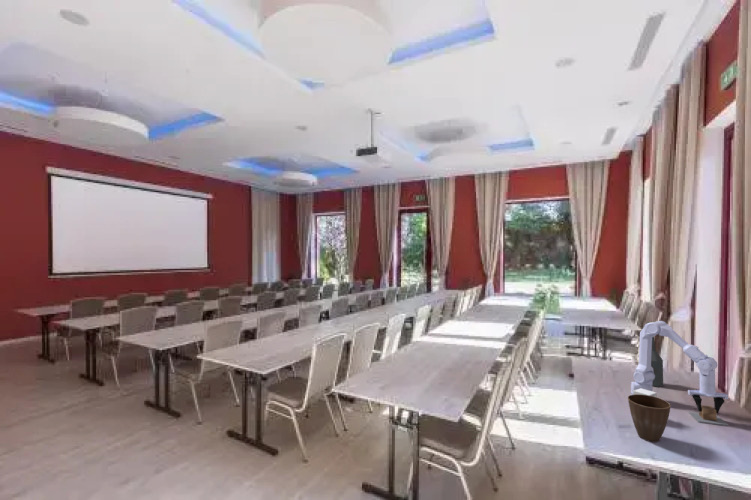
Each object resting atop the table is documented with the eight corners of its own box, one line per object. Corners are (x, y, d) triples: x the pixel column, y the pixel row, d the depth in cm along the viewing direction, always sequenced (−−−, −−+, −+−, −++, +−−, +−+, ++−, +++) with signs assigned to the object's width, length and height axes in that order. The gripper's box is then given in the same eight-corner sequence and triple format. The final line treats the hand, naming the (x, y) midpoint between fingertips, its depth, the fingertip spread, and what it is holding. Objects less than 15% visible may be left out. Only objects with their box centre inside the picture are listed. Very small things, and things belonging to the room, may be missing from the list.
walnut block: (703, 419, 176) (702, 408, 176) (699, 415, 181) (698, 404, 181) (716, 420, 174) (716, 410, 175) (712, 416, 179) (711, 405, 179)
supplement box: (649, 422, 176) (648, 395, 176) (632, 416, 182) (632, 390, 182) (657, 418, 179) (657, 392, 179) (640, 412, 186) (640, 387, 186)
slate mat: (698, 422, 175) (698, 421, 175) (689, 412, 185) (689, 411, 185) (728, 426, 171) (728, 425, 171) (717, 416, 181) (717, 415, 181)
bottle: (662, 383, 226) (661, 333, 227) (664, 388, 218) (663, 337, 218) (641, 380, 232) (640, 332, 232) (642, 385, 224) (641, 335, 224)
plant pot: (680, 443, 156) (679, 405, 156) (653, 449, 152) (653, 410, 152) (645, 427, 170) (644, 392, 170) (620, 432, 166) (619, 396, 166)
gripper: (691, 384, 177) (692, 412, 177) (731, 388, 171) (731, 417, 171) (686, 379, 183) (686, 407, 183) (723, 383, 178) (724, 411, 178)
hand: (707, 411), depth 178 cm, fingers open, 6 cm apart
